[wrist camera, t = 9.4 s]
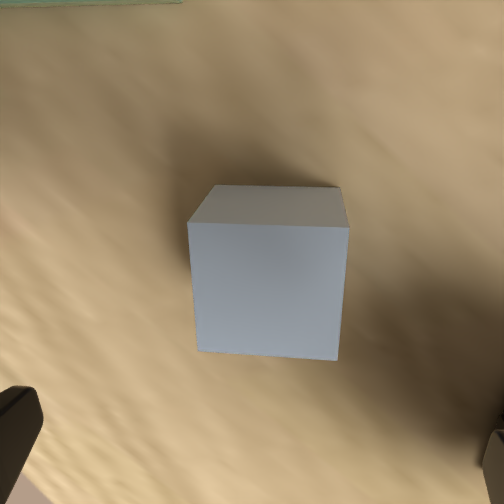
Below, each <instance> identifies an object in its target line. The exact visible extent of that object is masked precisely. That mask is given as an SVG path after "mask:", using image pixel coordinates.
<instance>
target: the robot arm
mask: <svg viewBox="0 0 504 504" xmlns="http://www.w3.org/2000/svg"><path fill="white" fill-rule="evenodd" d="M42 425H43V412H42V409H41V405H40V402H39V398H38V395H37V392H36V390H35V389H34V388H33V387H29V386H18V385H17V386H12V387H10V388H8V389H6V390H4V391H2V392H1V393H0V504H5V503H6V501H7V499H8V497H9V495H10V493H11V491H12V489H13V487H14V485H15V483H16V481H17V479H18V477H19V475H20V472H21V470H22V468H23V466H24V464H25V462H26V460H27V458H28V456H29V453H30V451H31V449H32V447H33V445H34V443H35V441H36V439H37V437H38V434H39V432H40V430H41V428H42ZM482 465H483V474H484V478H485V482H486V486H487V490H488V494H489V498H490V502H491V504H504V411H503V412H502V413H501V414H500V415H499V418H498V421H497V424H496V427H495V430H494V431H493V432H492V434H491V436H490V439H489V442H488V445H487V448H486V452H485V455H484V458H483V464H482Z"/></svg>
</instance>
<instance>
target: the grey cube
mask: <svg viewBox="0 0 504 504" xmlns="http://www.w3.org/2000/svg"><path fill="white" fill-rule="evenodd" d="M187 228H188V240H189V252H190V263H191V275H192V287H193V299H194V311H195V323H196V335H197V347H198V351H203V352H217V353H232V354H246V355H260V356H275V357H289V358H303V359H318V360H332V361H337V360H338V349H339V338H340V327H341V316H342V305H343V294H344V283H345V272H346V261H347V250H348V239H349V223H348V219H347V215H346V211H345V206H344V202H343V198H342V194H341V189H340V187H295V186H250V185H214V187H213V188H212V190H211V191H210V192H209V194H208V195H207V196H206V198H205V199H204V200H203V202H202V203H201V204H200V206H199V207H198V208H197V210H196V211H195V212H194V214H193V215H192V216H191V218H190V219H189V221H188V222H187Z"/></svg>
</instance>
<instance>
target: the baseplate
mask: <svg viewBox="0 0 504 504" xmlns="http://www.w3.org/2000/svg"><path fill="white" fill-rule="evenodd" d="M164 3H182V0H0V8H13V7H51V6H89V5H126V4H164Z"/></svg>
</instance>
